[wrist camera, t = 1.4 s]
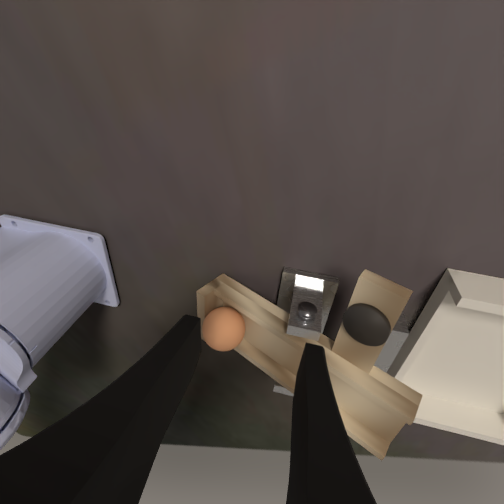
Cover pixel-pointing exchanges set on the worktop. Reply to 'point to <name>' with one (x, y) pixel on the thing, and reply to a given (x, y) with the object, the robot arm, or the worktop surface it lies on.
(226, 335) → the egg
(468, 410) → the dish
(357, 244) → the worktop surface
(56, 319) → the robot arm
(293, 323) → the pivot base
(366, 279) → the lever
